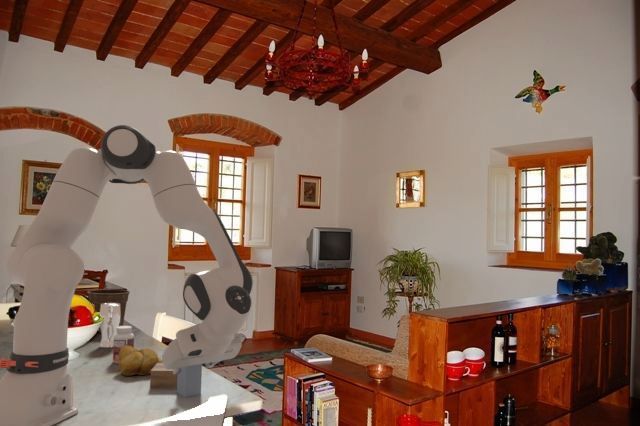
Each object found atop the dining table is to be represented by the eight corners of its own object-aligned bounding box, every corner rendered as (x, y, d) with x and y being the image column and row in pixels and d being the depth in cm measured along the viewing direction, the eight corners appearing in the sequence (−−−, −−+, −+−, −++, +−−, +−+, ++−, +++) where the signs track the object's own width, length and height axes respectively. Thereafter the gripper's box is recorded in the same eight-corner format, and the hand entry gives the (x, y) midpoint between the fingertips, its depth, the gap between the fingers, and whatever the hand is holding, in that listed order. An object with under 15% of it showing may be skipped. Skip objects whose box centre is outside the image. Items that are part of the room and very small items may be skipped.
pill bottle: (129, 358, 170) (130, 324, 170) (136, 362, 165) (137, 327, 166) (109, 360, 166) (111, 326, 167) (116, 365, 161) (117, 329, 162)
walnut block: (180, 389, 140) (181, 370, 140) (149, 389, 139) (150, 370, 139) (185, 380, 148) (185, 363, 148) (156, 380, 147) (157, 363, 147)
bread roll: (162, 367, 161) (163, 341, 161) (164, 376, 152) (165, 348, 152) (118, 370, 156) (119, 343, 157) (117, 379, 147) (118, 350, 147)
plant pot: (121, 325, 225) (122, 288, 225) (134, 331, 212) (135, 292, 213) (81, 329, 215) (82, 289, 215) (92, 336, 202) (93, 294, 203)
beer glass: (98, 344, 188) (99, 303, 189) (118, 343, 191) (120, 302, 192) (98, 348, 182) (100, 305, 182) (119, 347, 185) (121, 305, 185)
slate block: (200, 394, 136) (202, 359, 136) (185, 397, 133) (186, 362, 133) (192, 389, 139) (193, 356, 140) (177, 392, 136) (178, 358, 137)
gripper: (243, 322, 137) (222, 352, 144) (171, 331, 124) (152, 364, 131) (252, 343, 134) (230, 372, 141) (179, 354, 120) (159, 386, 127)
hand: (192, 368), depth 136 cm, fingers open, 8 cm apart
